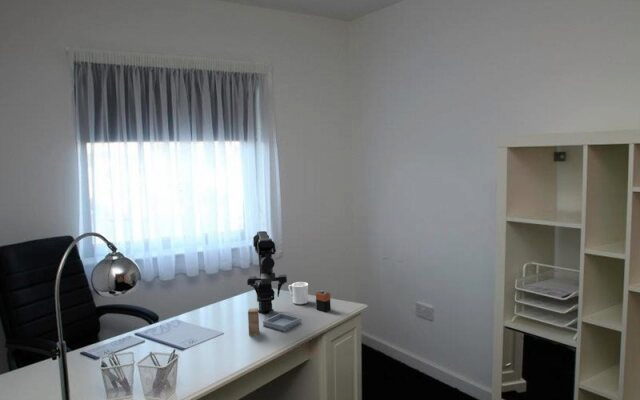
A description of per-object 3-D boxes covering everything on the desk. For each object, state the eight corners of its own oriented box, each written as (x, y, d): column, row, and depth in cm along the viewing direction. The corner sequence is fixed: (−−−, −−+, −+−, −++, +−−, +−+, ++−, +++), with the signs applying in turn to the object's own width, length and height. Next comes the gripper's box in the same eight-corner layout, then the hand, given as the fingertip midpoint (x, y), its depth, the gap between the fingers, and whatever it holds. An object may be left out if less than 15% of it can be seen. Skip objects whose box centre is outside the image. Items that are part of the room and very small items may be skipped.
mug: (309, 300, 259) (309, 281, 257) (307, 305, 250) (307, 286, 249) (290, 299, 260) (289, 281, 259) (287, 305, 251) (286, 286, 250)
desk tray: (263, 326, 223) (263, 321, 222) (280, 317, 233) (280, 313, 232) (283, 331, 215) (283, 326, 215) (300, 323, 225) (300, 318, 225)
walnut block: (250, 331, 216) (249, 308, 215) (259, 331, 216) (258, 308, 215) (249, 335, 212) (248, 311, 211) (258, 334, 212) (257, 311, 211)
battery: (321, 307, 247) (321, 288, 245) (331, 310, 242) (330, 291, 241) (315, 309, 244) (315, 290, 242) (325, 312, 239) (324, 293, 238)
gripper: (244, 270, 216) (247, 303, 217) (285, 267, 217) (287, 300, 218) (247, 265, 227) (249, 296, 228) (286, 262, 228) (288, 294, 229)
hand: (268, 297), depth 225 cm, fingers open, 9 cm apart
